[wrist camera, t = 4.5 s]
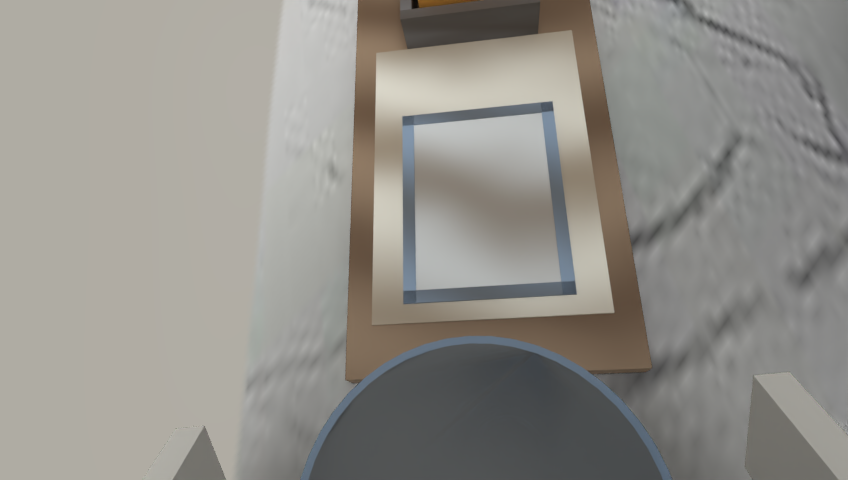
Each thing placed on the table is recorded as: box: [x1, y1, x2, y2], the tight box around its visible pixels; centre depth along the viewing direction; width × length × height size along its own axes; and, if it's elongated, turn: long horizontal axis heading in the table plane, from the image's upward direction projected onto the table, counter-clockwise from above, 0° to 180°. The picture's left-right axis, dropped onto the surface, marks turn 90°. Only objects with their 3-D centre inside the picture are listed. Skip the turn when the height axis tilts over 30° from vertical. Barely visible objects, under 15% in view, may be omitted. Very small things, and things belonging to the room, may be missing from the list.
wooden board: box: [345, 0, 652, 383], centre depth 23 cm, size 22×11×3 cm, turn 1°
